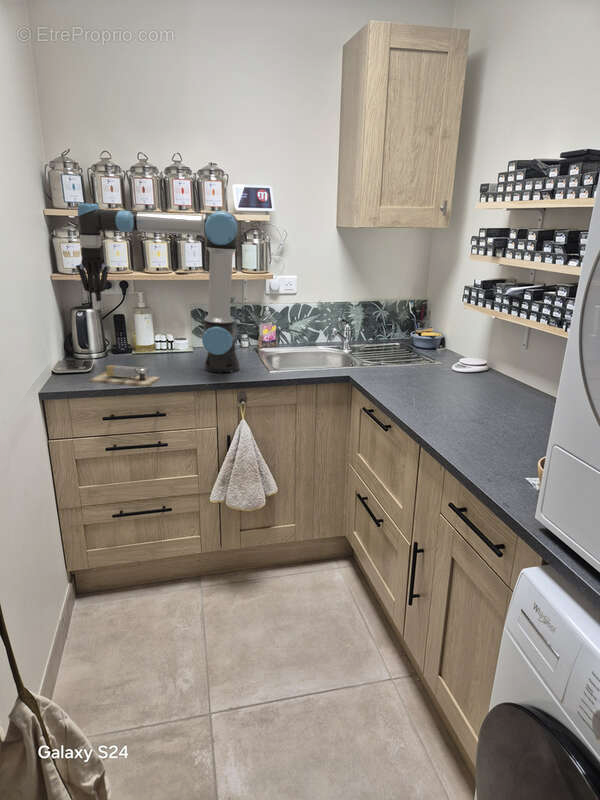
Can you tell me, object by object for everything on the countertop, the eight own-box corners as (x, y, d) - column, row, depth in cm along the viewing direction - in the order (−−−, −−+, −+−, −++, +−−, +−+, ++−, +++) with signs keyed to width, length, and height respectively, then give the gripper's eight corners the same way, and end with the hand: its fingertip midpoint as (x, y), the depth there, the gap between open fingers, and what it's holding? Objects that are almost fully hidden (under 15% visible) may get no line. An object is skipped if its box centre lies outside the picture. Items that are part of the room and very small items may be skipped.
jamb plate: (159, 379, 217) (159, 370, 215) (149, 386, 207) (149, 377, 206) (135, 377, 218) (135, 369, 217) (124, 384, 208) (124, 375, 207)
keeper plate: (138, 376, 220) (137, 366, 218) (124, 384, 208) (124, 374, 207) (105, 373, 221) (104, 364, 220) (90, 382, 210) (89, 372, 209)
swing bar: (149, 376, 214) (149, 367, 212) (145, 379, 209) (144, 370, 208) (111, 373, 216) (110, 364, 215) (105, 376, 212) (105, 367, 210)
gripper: (112, 247, 207) (116, 308, 215) (80, 245, 209) (85, 307, 217) (102, 248, 200) (107, 311, 208) (69, 246, 202) (75, 309, 210)
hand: (96, 309), depth 212 cm, fingers closed
